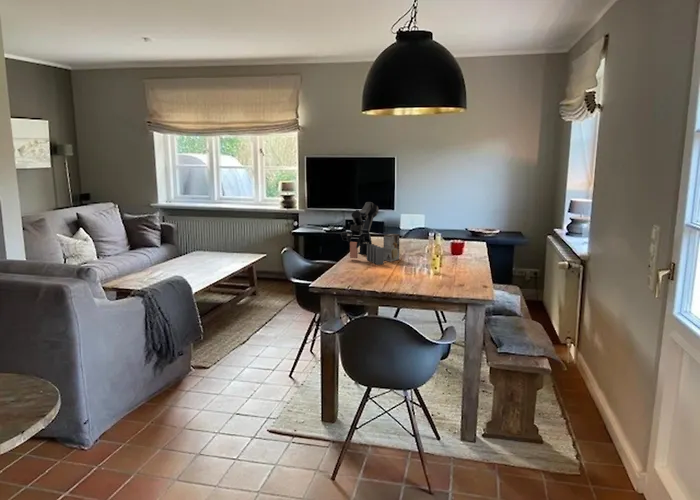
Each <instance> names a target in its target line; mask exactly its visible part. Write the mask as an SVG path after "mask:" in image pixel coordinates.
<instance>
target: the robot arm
mask: <svg viewBox="0 0 700 500" xmlns="http://www.w3.org/2000/svg"><path fill="white" fill-rule="evenodd" d="M378 214H379V206H378V205H377V204H375V203H373V202H371V201H366V202H365V203H364V205H363V207H361V209H360V210H359V209H355V210H354V211H353V212H352V213H351V217H352V221H353V223H354V224H351V225H350V233H348V232H346V231H342V232H341V233H340V237H341V239H342V241H344V242H345V241H346V242H348V248H349V249H350V242H353V240H352V239H356V242H358V243H357V246H356V248H359V252H358V255H367V244H373V241H372V236H371V234H370V231H371V227H372V224H373V220H374V218H375V217H376V216H377V215H378Z"/></svg>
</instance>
